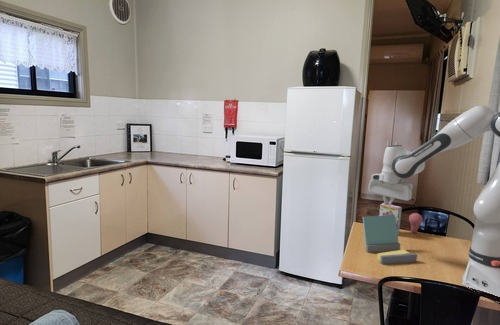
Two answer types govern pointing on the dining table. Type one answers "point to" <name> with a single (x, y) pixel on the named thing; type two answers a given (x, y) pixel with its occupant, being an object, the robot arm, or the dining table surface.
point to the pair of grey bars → (391, 258)
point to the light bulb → (415, 222)
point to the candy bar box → (391, 213)
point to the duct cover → (380, 229)
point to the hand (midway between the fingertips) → (387, 205)
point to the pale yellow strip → (392, 253)
